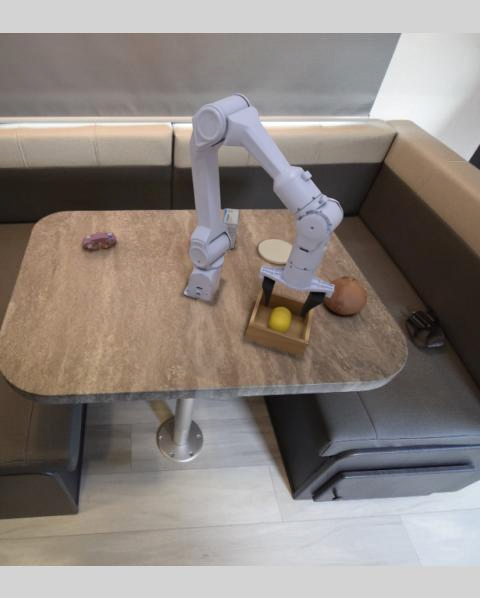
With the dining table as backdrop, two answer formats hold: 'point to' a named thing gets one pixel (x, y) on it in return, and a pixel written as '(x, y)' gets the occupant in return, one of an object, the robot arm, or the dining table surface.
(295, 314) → the crate
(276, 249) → the plate
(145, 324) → the dining table surface
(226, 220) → the medicine box
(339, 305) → the onion
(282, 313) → the lemon
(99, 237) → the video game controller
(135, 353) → the dining table surface
